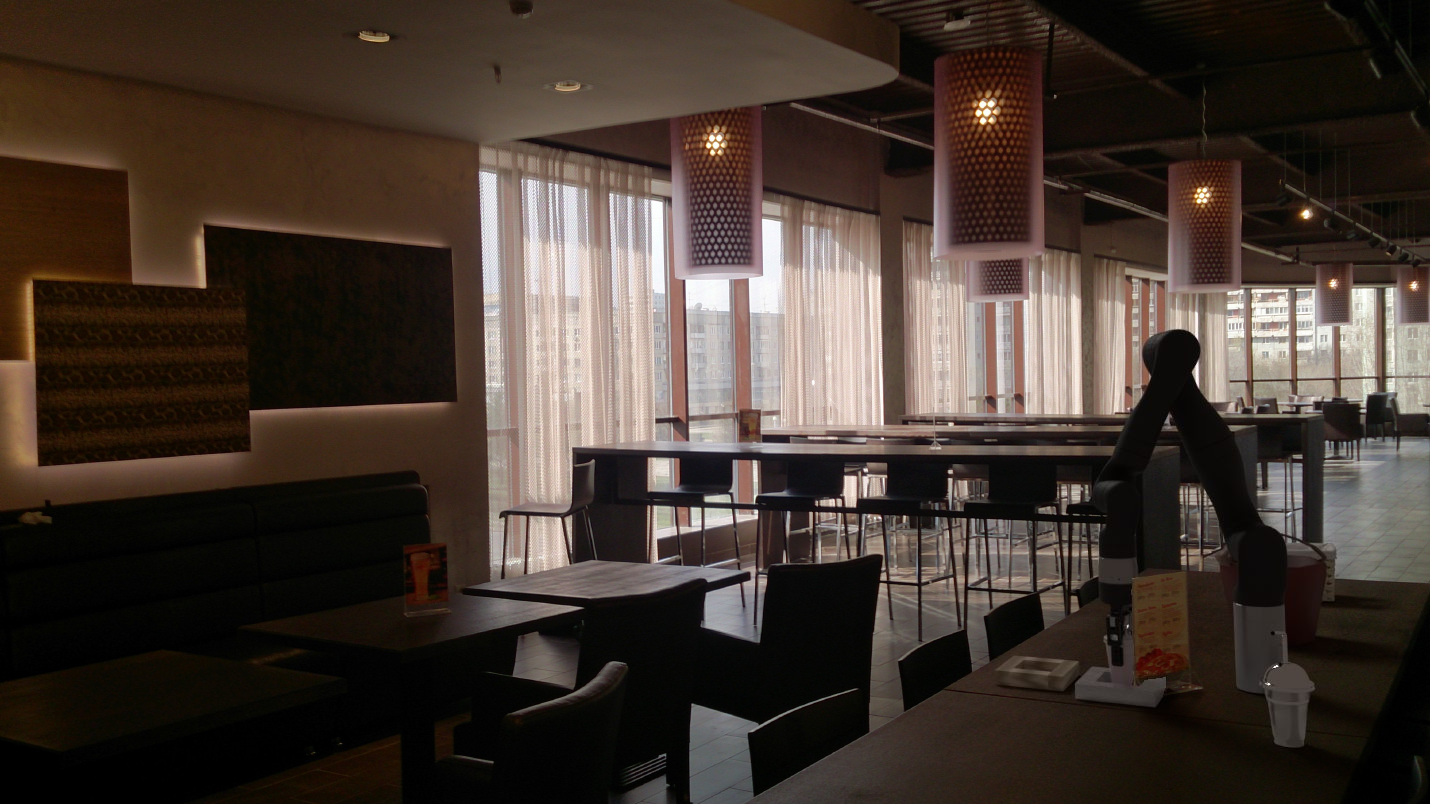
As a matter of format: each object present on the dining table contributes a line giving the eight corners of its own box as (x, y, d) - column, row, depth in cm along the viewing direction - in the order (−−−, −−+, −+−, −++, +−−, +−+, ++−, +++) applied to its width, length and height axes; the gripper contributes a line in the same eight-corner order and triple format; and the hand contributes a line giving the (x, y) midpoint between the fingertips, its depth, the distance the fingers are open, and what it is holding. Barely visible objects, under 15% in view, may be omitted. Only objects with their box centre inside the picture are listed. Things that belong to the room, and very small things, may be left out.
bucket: (1218, 644, 259) (1214, 538, 259) (1214, 625, 280) (1210, 527, 280) (1337, 649, 250) (1333, 539, 250) (1324, 629, 271) (1320, 527, 270)
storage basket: (1242, 600, 311) (1240, 547, 311) (1243, 590, 325) (1241, 540, 325) (1339, 604, 300) (1337, 550, 300) (1336, 594, 314) (1334, 542, 314)
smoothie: (1141, 689, 218) (1139, 618, 218) (1107, 688, 219) (1104, 618, 219) (1136, 681, 224) (1133, 612, 224) (1102, 680, 226) (1100, 612, 226)
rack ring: (1168, 688, 224) (1168, 673, 224) (1155, 707, 211) (1154, 691, 211) (1092, 680, 232) (1091, 666, 232) (1075, 698, 219) (1074, 683, 219)
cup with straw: (1329, 747, 185) (1325, 628, 185) (1285, 754, 182) (1281, 633, 182) (1289, 733, 193) (1285, 619, 193) (1247, 739, 190) (1243, 624, 190)
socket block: (1079, 675, 237) (1078, 661, 237) (1063, 691, 225) (1062, 676, 225) (1014, 668, 244) (1014, 655, 244) (995, 684, 232) (994, 670, 232)
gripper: (1130, 585, 214) (1133, 672, 214) (1144, 574, 226) (1147, 656, 226) (1090, 583, 217) (1093, 668, 218) (1106, 572, 230) (1109, 652, 230)
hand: (1121, 661), depth 222 cm, fingers closed on smoothie, 6 cm apart
